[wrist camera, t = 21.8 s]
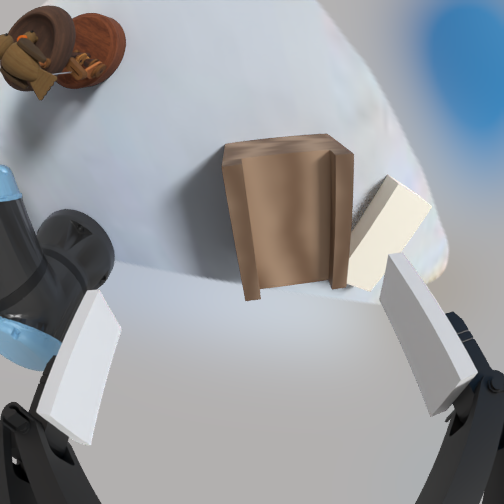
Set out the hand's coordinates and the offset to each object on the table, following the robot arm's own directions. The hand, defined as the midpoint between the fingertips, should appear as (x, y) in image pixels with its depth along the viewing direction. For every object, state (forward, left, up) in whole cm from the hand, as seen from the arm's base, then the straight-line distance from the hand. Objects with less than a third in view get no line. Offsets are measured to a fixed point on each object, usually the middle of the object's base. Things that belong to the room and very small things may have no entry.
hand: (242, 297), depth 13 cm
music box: (-18, +18, -29) cm, 39 cm away
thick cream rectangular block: (+20, -16, -29) cm, 39 cm away
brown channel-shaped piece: (+5, -9, -29) cm, 30 cm away
